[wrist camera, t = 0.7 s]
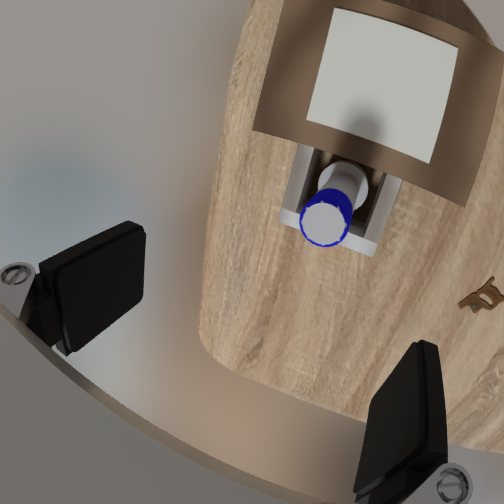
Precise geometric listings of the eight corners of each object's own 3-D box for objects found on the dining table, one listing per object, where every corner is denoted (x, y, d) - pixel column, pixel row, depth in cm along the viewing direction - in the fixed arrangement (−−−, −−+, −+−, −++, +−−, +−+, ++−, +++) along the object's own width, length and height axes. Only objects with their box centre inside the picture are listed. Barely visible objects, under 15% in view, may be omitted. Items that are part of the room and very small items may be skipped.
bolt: (323, 204, 34) (321, 159, 32) (368, 206, 32) (367, 159, 30) (285, 260, 20) (280, 182, 18) (363, 264, 18) (364, 183, 17)
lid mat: (457, 49, 15) (458, 48, 15) (428, 163, 20) (428, 163, 20) (334, 9, 18) (334, 7, 18) (306, 119, 22) (305, 119, 22)
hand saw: (367, 385, 41) (367, 388, 40) (349, 367, 41) (349, 370, 40) (508, 297, 28) (509, 300, 28) (495, 272, 28) (496, 274, 28)
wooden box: (474, 69, 21) (505, 52, 14) (413, 256, 32) (422, 296, 24) (311, 15, 26) (289, -18, 18) (264, 200, 36) (231, 222, 28)
